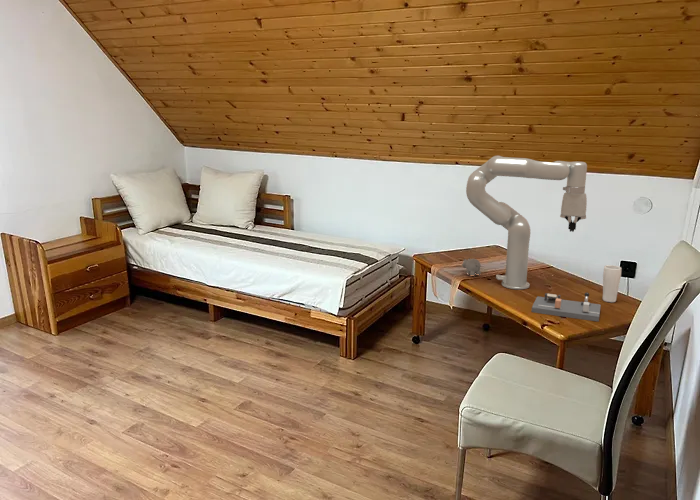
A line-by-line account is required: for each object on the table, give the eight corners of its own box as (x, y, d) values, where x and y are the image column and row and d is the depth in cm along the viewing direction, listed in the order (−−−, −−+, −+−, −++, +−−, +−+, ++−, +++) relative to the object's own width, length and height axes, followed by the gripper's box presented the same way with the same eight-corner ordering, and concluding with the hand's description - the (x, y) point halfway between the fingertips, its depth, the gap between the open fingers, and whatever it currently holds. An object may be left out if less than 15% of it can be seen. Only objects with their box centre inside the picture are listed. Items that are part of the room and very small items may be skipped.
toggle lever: (583, 302, 220) (584, 291, 221) (583, 303, 222) (584, 292, 223) (588, 303, 220) (589, 292, 220) (588, 304, 221) (589, 292, 222)
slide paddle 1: (554, 307, 217) (555, 300, 217) (555, 305, 220) (556, 298, 219) (560, 308, 216) (560, 301, 216) (560, 305, 219) (561, 298, 218)
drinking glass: (603, 303, 229) (606, 269, 225) (598, 297, 235) (602, 264, 232) (620, 303, 228) (624, 269, 224) (615, 298, 234) (618, 265, 231)
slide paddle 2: (582, 311, 213) (583, 304, 212) (583, 308, 215) (584, 301, 215) (588, 312, 212) (589, 304, 211) (588, 309, 215) (589, 302, 214)
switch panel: (531, 312, 220) (532, 300, 219) (536, 300, 233) (537, 290, 232) (598, 321, 209) (599, 310, 208) (600, 309, 222) (601, 298, 221)
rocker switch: (547, 295, 224) (547, 293, 224) (548, 298, 230) (548, 295, 230) (556, 297, 222) (556, 294, 222) (557, 299, 228) (557, 296, 229)
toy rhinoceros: (469, 270, 279) (470, 254, 277) (483, 276, 268) (483, 259, 266) (457, 271, 277) (458, 255, 274) (470, 278, 266) (471, 261, 264)
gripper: (556, 190, 237) (553, 231, 241) (593, 192, 230) (589, 234, 235) (558, 188, 243) (555, 228, 248) (594, 189, 237) (590, 230, 241)
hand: (571, 231), depth 241 cm, fingers closed
